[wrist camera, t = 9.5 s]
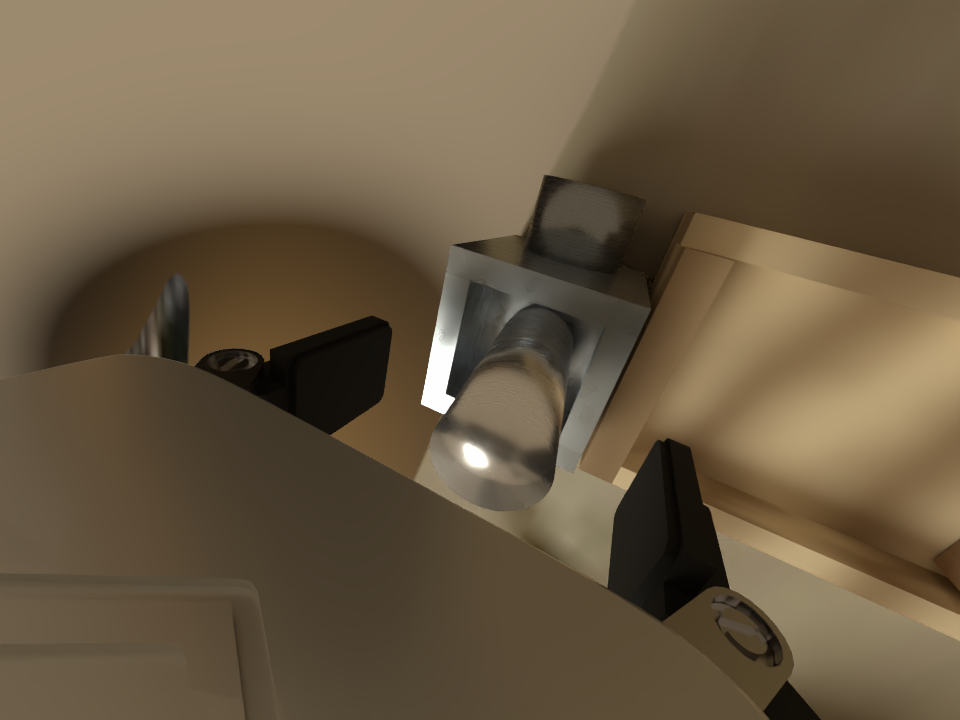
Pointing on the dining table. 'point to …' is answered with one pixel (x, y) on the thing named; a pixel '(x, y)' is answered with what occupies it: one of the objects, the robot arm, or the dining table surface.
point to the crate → (950, 563)
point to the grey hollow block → (548, 299)
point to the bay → (804, 406)
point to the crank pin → (508, 416)
